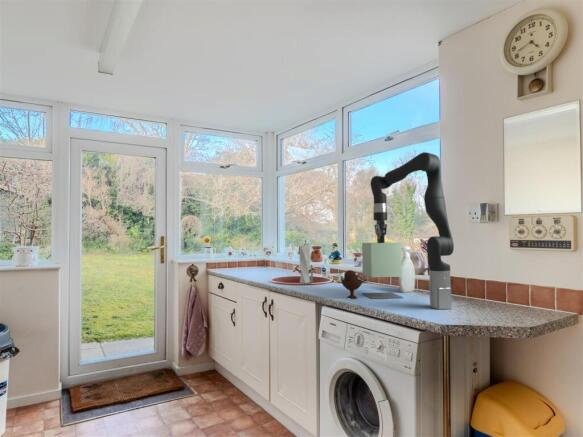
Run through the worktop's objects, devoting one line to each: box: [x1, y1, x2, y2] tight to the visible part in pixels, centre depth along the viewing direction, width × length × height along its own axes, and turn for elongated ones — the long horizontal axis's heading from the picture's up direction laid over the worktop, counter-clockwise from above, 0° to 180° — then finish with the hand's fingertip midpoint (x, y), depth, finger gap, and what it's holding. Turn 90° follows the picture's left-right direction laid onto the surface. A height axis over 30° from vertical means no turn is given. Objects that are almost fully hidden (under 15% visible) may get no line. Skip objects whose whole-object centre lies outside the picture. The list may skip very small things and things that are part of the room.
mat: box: [361, 291, 404, 300], centre depth 213 cm, size 17×17×1 cm
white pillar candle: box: [299, 242, 314, 285], centre depth 269 cm, size 8×8×28 cm
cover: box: [361, 234, 402, 278], centre depth 213 cm, size 17×17×23 cm
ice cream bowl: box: [340, 269, 363, 300], centre depth 207 cm, size 11×11×15 cm
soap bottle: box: [397, 245, 416, 294], centre depth 227 cm, size 14×8×27 cm, turn 130°
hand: (380, 242), depth 214 cm, fingers closed on cover, 4 cm apart
